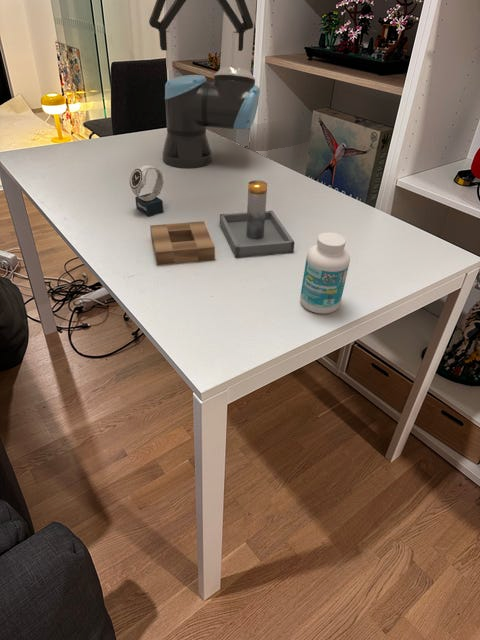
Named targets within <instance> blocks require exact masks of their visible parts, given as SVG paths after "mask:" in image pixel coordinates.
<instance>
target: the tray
mask: <svg viewBox="0 0 480 640" xmlns="http://www.w3.org/2000/svg"><path fill="white" fill-rule="evenodd" d="M219 226H220V229H221V230H222V232H223V234H224V237H225V239H226V241H227V243H228V245H229V247H230V249H231V252H232V253H233V256H234V257H235V259H239V258H246V257H247V258H250V257H260V256H269V255H279V254H280V255H281V254H282V255H283V254H291V253H294V250H295V249H294V248H295V241H294V239H293V238H292V236H291V235H290V233H289V232H288V230H287V229H286V228H285V226H284V224H282V222H281V220H280V219H279V218H278V217H277V215H276V213H275V212H274V210H265V225H264V237H263V238H261V239H250V238H248V237H247V236H246V228H247V211H246V212H235V213H234V212H233V213H221V214H219Z"/></svg>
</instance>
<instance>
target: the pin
mask: <svg viewBox="0 0 480 640" xmlns="http://www.w3.org/2000/svg"><path fill="white" fill-rule="evenodd" d="M267 191H268V183H267V182H266V181H263V180H259V179H257V180H251V181H249V182H248V187H247V210H246V212H247V228H246V236H247V237H248V238H250V239H261V238H263V237H264V225H265V211H267V210H266V209H267V208H266V207H267V194H268V192H267Z"/></svg>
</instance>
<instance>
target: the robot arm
mask: <svg viewBox="0 0 480 640" xmlns="http://www.w3.org/2000/svg"><path fill="white" fill-rule="evenodd" d="M216 1H217V4H219V6H220V7H221V9H222V10H223V15H222V17H223V18H222V35H221V47H220V48H221V49H220V64H219V65H220V66H219V69H218V71H216V73H215V74H213V75H214V76H213V82H207V78H206V76H205V75H203V74H201V75H200V74H189V75H180V76H176V77H173V78H170V79H169V80H167V81H166V83H165V84H164V102H165V115H166V116H165V119H166V138H165V140H164V146H163V150H162V161H163V163H165V164H166V165H169V166H172V167H176V168H181V169H182V168H184V169H185V168H186V169H191V168H192V169H194V168H201V167H205V166H208V165H209V164H211V163H212V159H213V153H212V149H211V146H210V143H209V140H208V136H207V127H208V128H215V129H216V128H217V129H228V130H229V129H230V130H233V131H237V130H245V131H246V130H249V129H251V128H252V126H253V124H254V122H255V118H256V116H257V111H258V107H259V106H258V105H259V98H260V92H261V91H260V90H261V89H260V87H259V86H258V85H255V84H256V78H255V77H254V76H253V74H252V72H251V71H252V58H253V57H252V56H253V49H254V48H253V46H254V34H255V33H254V32H255V23H256V22H255V21H256V11H257V0H216ZM186 2H187V0H174V1H173V3H172V4H171V6H170V7H169V9H168V11H167V12H166V13H165V14H164V16H163V18H162V19H161V20H160V16H161V14H162V11H163V9H164V5H165V3H166V0H156V1H155V3H154V6H153V10H152V12H151V14H150V17H149V20H148V24H149V25H150V27H151V28H154V29H156V30H158V34H159V35H158V36H159V48H160V49H161V51H165V60H166V61H165V64H166V69H167V71H172V70H173V68H172V67H173V64H172V43H171V41H172V40H171V31H169V30H168V28H169V27H170V25H171V23H172V22H173V20H174V19H175V17H176V15H178V14H179V11H180V10H181V8H182V7H183V5H184V4H185V3H186ZM159 20H160V21H159Z"/></svg>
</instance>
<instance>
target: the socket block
mask: <svg viewBox="0 0 480 640" xmlns="http://www.w3.org/2000/svg"><path fill="white" fill-rule="evenodd" d="M149 228H150V239H151V244H152V247H153V252H154V253H153V254H154V258H155V261H156V266H162V265H163V266H164V265H173V264H183V263H185V264H186V263H195V262H207V261H215V259H216V258H215V257H216V256H215V253H216V250H215V249H216V246H215V245H214V242H213V240H212V238H211V235H210V233H209V231H208V228H207V225H206V223H205V220H203V221H188V222H177V223H164V224H153V225H152V224H151V225H149Z"/></svg>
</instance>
